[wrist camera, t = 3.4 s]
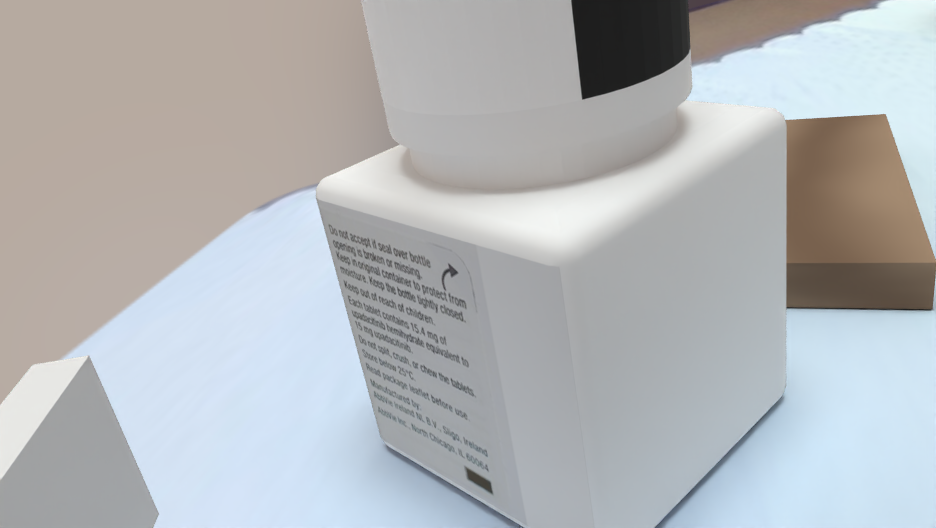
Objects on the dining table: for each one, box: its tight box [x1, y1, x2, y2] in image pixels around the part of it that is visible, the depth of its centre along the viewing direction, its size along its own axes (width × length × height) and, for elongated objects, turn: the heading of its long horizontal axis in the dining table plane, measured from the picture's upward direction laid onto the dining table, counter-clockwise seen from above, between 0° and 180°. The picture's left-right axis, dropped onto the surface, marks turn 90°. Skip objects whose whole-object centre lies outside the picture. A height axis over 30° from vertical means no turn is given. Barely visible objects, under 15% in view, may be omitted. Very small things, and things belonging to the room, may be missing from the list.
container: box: [316, 0, 787, 528], centre depth 19 cm, size 8×8×13 cm
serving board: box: [785, 114, 936, 309], centre depth 32 cm, size 18×13×2 cm
